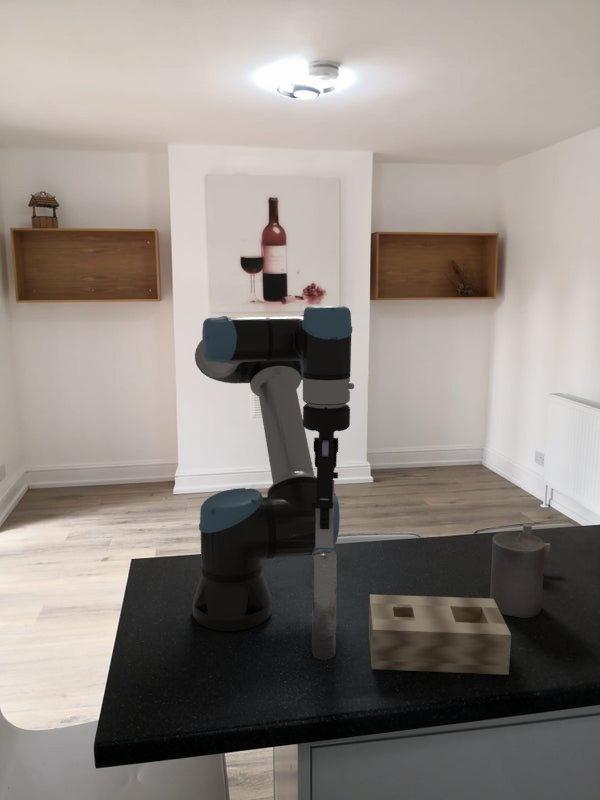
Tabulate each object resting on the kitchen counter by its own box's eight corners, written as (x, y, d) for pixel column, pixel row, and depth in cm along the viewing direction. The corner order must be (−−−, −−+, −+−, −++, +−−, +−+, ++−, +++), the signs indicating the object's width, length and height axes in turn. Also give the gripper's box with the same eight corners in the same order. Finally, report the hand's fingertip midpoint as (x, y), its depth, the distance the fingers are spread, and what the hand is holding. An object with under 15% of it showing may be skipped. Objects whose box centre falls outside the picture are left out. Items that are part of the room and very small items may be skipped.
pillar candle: (518, 591, 130) (521, 522, 127) (552, 613, 121) (557, 539, 118) (479, 599, 127) (481, 529, 124) (511, 623, 118) (515, 547, 115)
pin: (311, 659, 106) (312, 558, 103) (312, 646, 110) (313, 548, 106) (335, 660, 105) (336, 559, 102) (335, 647, 109) (336, 549, 106)
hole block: (371, 668, 103) (372, 629, 102) (368, 630, 115) (369, 594, 114) (508, 674, 102) (511, 634, 100) (491, 634, 113) (493, 598, 112)
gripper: (351, 419, 88) (349, 563, 91) (349, 391, 112) (347, 505, 116) (297, 418, 88) (297, 561, 92) (307, 391, 113) (306, 504, 116)
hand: (325, 530), depth 104 cm, fingers open, 13 cm apart
